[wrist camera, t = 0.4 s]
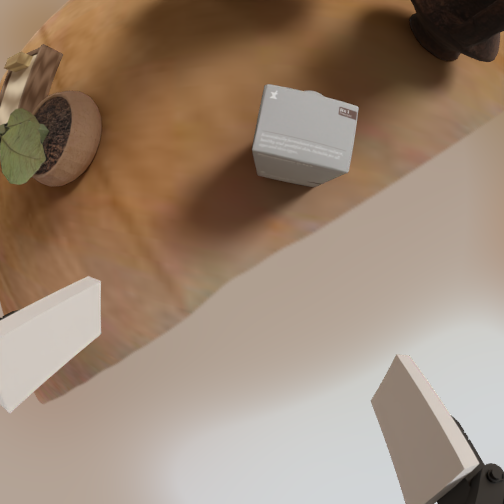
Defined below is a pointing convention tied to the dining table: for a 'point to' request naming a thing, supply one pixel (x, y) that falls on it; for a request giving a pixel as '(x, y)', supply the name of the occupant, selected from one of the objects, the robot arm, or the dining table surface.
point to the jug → (459, 27)
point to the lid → (15, 83)
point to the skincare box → (303, 136)
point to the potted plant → (51, 140)
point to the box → (37, 78)
